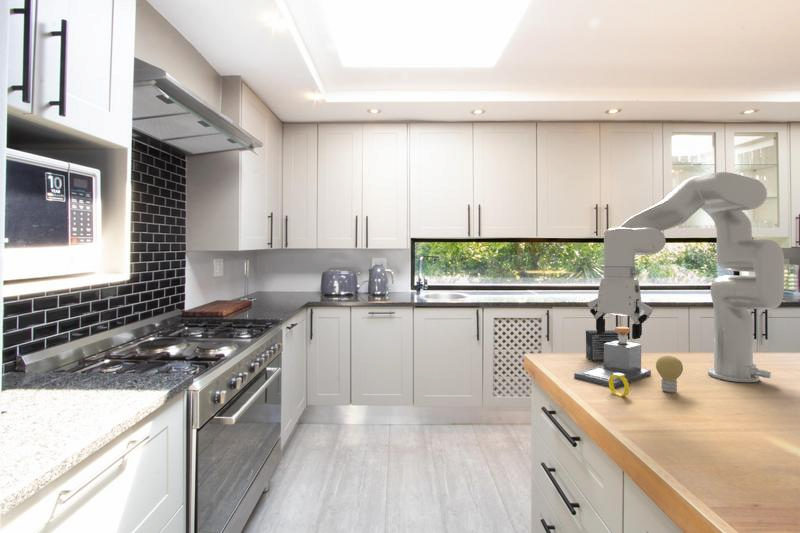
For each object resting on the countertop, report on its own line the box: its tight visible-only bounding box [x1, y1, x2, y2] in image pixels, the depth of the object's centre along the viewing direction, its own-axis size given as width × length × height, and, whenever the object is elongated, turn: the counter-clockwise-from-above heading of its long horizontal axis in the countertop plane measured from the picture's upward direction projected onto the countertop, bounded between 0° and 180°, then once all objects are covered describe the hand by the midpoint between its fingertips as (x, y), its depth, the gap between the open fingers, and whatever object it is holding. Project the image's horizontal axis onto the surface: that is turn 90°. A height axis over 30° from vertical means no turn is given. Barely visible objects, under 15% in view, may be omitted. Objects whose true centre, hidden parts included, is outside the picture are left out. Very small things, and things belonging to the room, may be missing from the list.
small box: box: [585, 329, 618, 362], centre depth 155 cm, size 11×6×10 cm, turn 84°
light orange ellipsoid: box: [614, 326, 631, 345], centre depth 137 cm, size 4×4×8 cm
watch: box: [608, 373, 630, 398], centre depth 116 cm, size 6×3×6 cm, turn 17°
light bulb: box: [655, 355, 684, 394], centre depth 119 cm, size 6×6×10 cm
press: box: [573, 340, 652, 389], centre depth 134 cm, size 13×22×10 cm, turn 126°
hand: (617, 335), depth 116 cm, fingers open, 9 cm apart
